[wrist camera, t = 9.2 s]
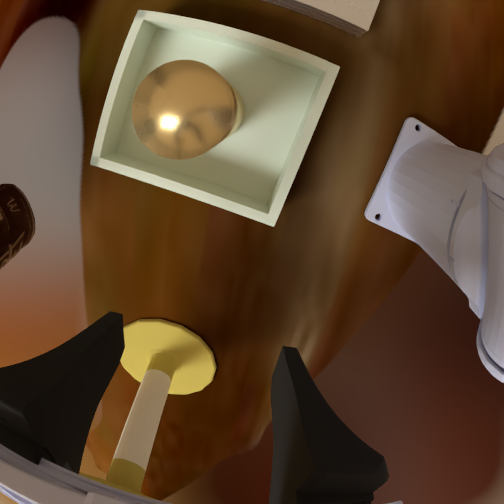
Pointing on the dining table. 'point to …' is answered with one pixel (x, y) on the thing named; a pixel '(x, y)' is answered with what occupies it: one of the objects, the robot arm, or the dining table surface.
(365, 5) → the block
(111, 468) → the candle
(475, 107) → the dining table surface
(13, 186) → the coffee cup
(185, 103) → the pin
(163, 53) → the tray
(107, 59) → the dining table surface
